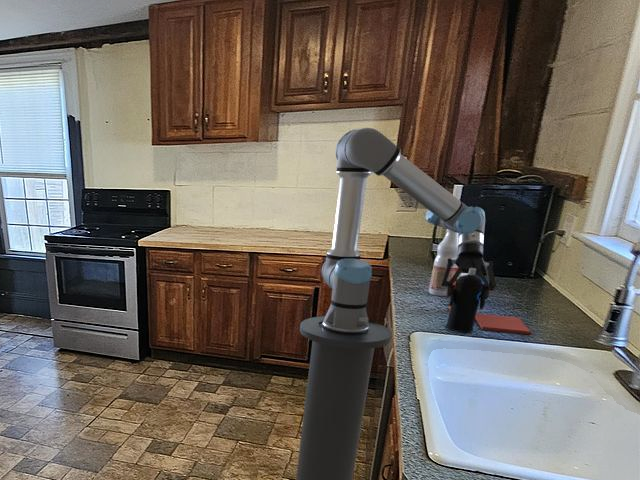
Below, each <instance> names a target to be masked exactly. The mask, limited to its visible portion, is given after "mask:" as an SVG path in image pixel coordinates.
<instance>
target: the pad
mask: <svg viewBox="0 0 640 480" xmlns="http://www.w3.org/2000/svg"><path fill="white" fill-rule="evenodd" d="M475 321H476V322H477V324H478V325H479V327H480V329H481V330H484V331H493V332H503V333H512V334H520V335H530V336H531V334H532V330H531V329H530V328H529V327H528V326H527V325H526V324H525V323H524V322H523V321H522V320H521V317H517V316H505V315H498V314H497V315H496V314H487V313H476V317H475Z"/></svg>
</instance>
